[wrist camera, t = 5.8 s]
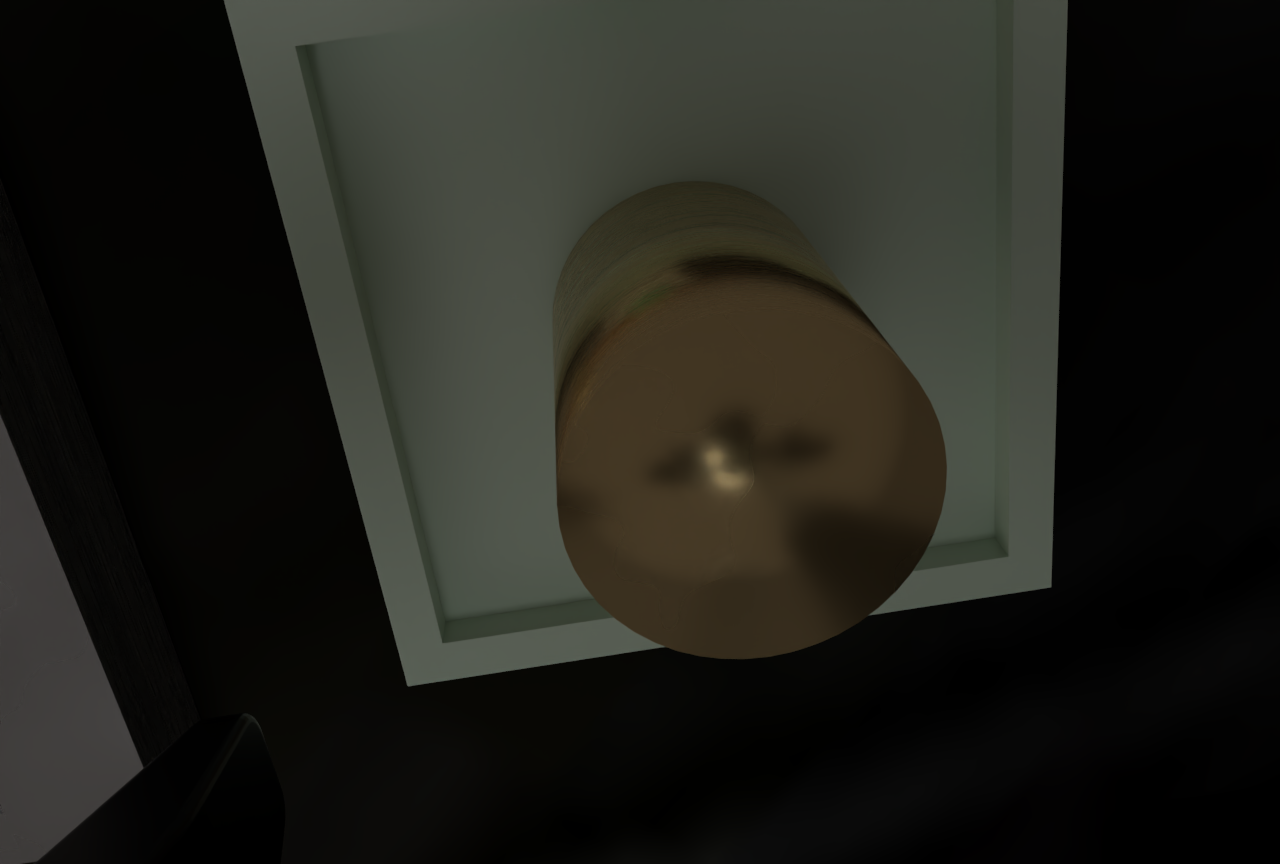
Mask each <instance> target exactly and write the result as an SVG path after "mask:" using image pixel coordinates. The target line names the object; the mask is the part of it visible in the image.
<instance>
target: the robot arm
mask: <svg viewBox="0 0 1280 864" xmlns="http://www.w3.org/2000/svg"><path fill="white" fill-rule="evenodd" d="M284 827H285V804H284V797H283V793H282V789H281V786H280V783H279V780H278V777H277V774H276V771H275V768H274V766H273V763H272V760H271V757H270V754H269V751H268V748H267V745H266V742H265V739H264V736H263V733H262V730H261V728H260V726H259V724H258V722H257V721H256V720H255V718H254V717H253V716H251V715H249V714H247V713H241V714H234V715H227V716H221V717H214V718H208V719H203V720H200V721H198V722H196V723H195V724H194V725H192V726H191V727H190V728H189V729H188V730H187V731H185V732H184V733H183V734H182V735H181V736H180V737H179V738H177V739H176V740H175V741H174V742H173V743H172V744H171V745H169V746H168V747H167V748H166V749H165V750H164V751H163V752H161V753H160V754H159V755H158V756H157V757H156V758H155V759H153V760H152V761H151V762H150V763H149V764H148V765H147V766H145V767H144V768H143V769H142V770H141V771H140V772H139V773H137V774H136V775H135V776H134V777H133V778H132V779H131V780H129V781H128V782H127V783H126V784H125V785H124V786H123V787H121V788H120V789H119V790H118V791H117V792H116V793H115V794H113V795H112V796H111V797H110V798H109V799H108V800H107V801H105V802H104V803H103V804H102V805H101V806H100V807H99V808H97V809H96V810H95V811H94V812H93V813H92V814H91V815H89V816H88V817H87V818H86V819H85V820H84V821H82V822H81V823H80V824H79V825H78V826H77V827H76V828H74V829H73V830H72V831H71V832H70V833H69V834H68V835H66V836H65V837H64V838H63V839H62V840H61V841H60V842H58V843H57V844H56V845H55V846H54V847H53V848H52V849H50V850H49V851H48V852H47V853H46V854H45V855H44V856H42V857H41V858H40V859H39V860H38V861H37V862H36V863H34V864H280V863H281V854H282V845H283V836H284ZM1138 842H1139V843H1138ZM1135 843H1137V844H1135ZM1105 864H1280V793H1275V794H1268V795H1262V796H1256V797H1249V798H1243V799H1237V800H1230V801H1224V802H1218V803H1211V804H1205V805H1198V806H1192V807H1186V808H1179V809H1173V810H1167V811H1160V812H1154V813H1148V814H1141V815H1135V816H1131V817H1127V818H1124V819H1122V820H1121V821H1119V822H1117V823H1116V824H1114V826H1113V827H1112V828H1111V829H1110V830H1109V832H1108V835H1107V838H1106V849H1105Z"/></svg>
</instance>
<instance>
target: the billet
mask: <svg viewBox="0 0 1280 864" xmlns="http://www.w3.org/2000/svg"><path fill="white" fill-rule="evenodd" d="M552 324H553V365H554V406H555V447H556V489H557V510H558V519H559V527H560V531H561V535H562V539H563V543H564V546H565V549H566V552H567V554H568V556H569V559H570V561H571V563H572V566H573V568H574V570H575V572H576V573H577V575H578V576H579V578H580V580H581V581H582V583H583V585H584V586H585V588H586V589H587V590H588V591H589V592H590V594H591V595H592V596H593V597H594V598H595V600H596V601H597V602H598V603H599V604H600V605H601V606H602V607H603V608H604V609H605V610H606V611H607V612H608V613H609V614H611V615H612V616H613V617H614V618H615V619H616V620H617V621H619V622H620V623H622V624H623V625H625V626H626V627H628V628H629V629H631V630H632V631H633V632H635V633H637V634H639V635H641V636H643V637H645V638H647V639H649V640H651V641H653V642H654V643H657V644H660V645H662V646H665V647H668V648H671V649H673V650H676V651H680V652H684V653H689V654H693V655H697V656H703V657H712V658H720V659H751V658H761V657H770V656H775V655H780V654H785V653H789V652H794V651H797V650H800V649H803V648H806V647H809V646H812V645H815V644H818V643H820V642H822V641H825V640H827V639H829V638H831V637H834V636H836V635H838V634H840V633H841V632H843V631H845V630H847V629H848V628H850V627H852V626H853V625H855V624H857V623H859V622H860V621H861V620H863V619H864V618H865V617H867V616H868V615H870V614H871V613H872V612H874V611H875V610H876V609H878V608H879V607H880V606H881V605H882V604H883V603H884V602H885V601H886V600H887V599H888V598H890V597H891V596H892V595H893V594H894V593H895V592H896V591H897V590H898V588H899V587H900V586H901V585H902V584H903V583H904V581H905V580H906V579H907V578H908V577H909V576H910V574H911V573H912V572H913V570H914V569H915V567H916V566H917V564H918V563H919V561H920V560H921V558H922V557H923V555H924V553H925V551H926V549H927V547H928V545H929V543H930V541H931V539H932V537H933V535H934V533H935V530H936V527H937V524H938V521H939V518H940V515H941V512H942V507H943V502H944V497H945V492H946V479H947V461H946V450H945V443H944V439H943V435H942V431H941V427H940V423H939V420H938V418H937V416H936V413H935V411H934V408H933V406H932V403H931V401H930V400H929V398H928V396H927V395H926V393H925V391H924V390H923V388H922V387H921V385H920V383H919V382H918V380H917V379H916V378H915V377H914V375H913V374H912V373H911V371H910V370H909V369H908V368H907V366H906V365H905V364H904V362H903V361H902V360H901V359H900V357H899V356H898V355H897V354H896V352H895V351H894V350H893V348H892V347H891V346H890V345H889V343H888V342H887V341H886V339H885V338H884V337H883V336H882V334H881V333H880V332H879V330H878V329H877V328H876V327H875V325H874V324H873V323H872V321H871V320H870V319H869V318H868V316H867V315H866V314H865V312H864V311H863V310H862V309H861V307H860V306H859V305H858V303H857V302H856V301H855V300H854V298H853V297H852V296H851V294H850V293H849V292H848V291H847V289H846V288H845V287H844V286H843V284H842V283H841V282H840V280H839V279H838V278H837V277H836V275H835V274H834V273H833V271H832V270H831V269H830V268H829V266H828V265H827V264H826V262H825V261H824V260H823V259H822V257H821V256H820V255H819V253H818V252H817V251H816V250H815V248H814V247H813V246H812V244H811V243H810V242H809V241H808V239H807V238H806V237H805V235H804V234H803V233H802V232H801V231H800V229H799V228H798V227H797V226H796V225H795V223H794V222H793V221H792V220H791V219H790V218H789V217H787V216H786V215H785V214H784V213H783V212H782V211H781V210H780V209H778V208H777V207H775V206H774V205H772V204H771V203H769V202H768V201H766V200H765V199H763V198H761V197H759V196H757V195H755V194H753V193H751V192H749V191H746V190H743V189H740V188H737V187H734V186H731V185H726V184H721V183H715V182H703V181H688V182H676V183H670V184H666V185H661V186H656V187H653V188H651V189H648V190H645V191H642V192H639V193H637V194H635V195H633V196H631V197H629V198H627V199H625V200H623V201H621V202H620V203H618V204H617V205H615V206H614V207H613V208H611V209H610V210H608V211H607V212H605V213H604V214H603V215H602V216H601V217H600V218H599V219H597V220H596V221H595V222H594V223H593V224H592V225H591V226H590V227H589V228H588V229H587V231H586V232H585V233H584V234H583V235H582V236H581V238H580V239H579V240H578V242H577V243H576V245H575V246H574V248H573V249H572V251H571V253H570V254H569V256H568V258H567V260H566V262H565V264H564V267H563V269H562V271H561V274H560V277H559V280H558V283H557V286H556V291H555V297H554V303H553V321H552Z"/></svg>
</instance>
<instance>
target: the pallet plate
mask: <svg viewBox="0 0 1280 864" xmlns="http://www.w3.org/2000/svg"><path fill="white" fill-rule="evenodd" d="M200 720H201V719H200V716H199V713H198V711H197V708H196V705H195V703H194V700H193V697H192V694H191V692H190V689H189V686H188V684H187V681H186V678H185V676H184V673H183V670H182V667H181V665H180V662H179V659H178V657H177V654H176V651H175V648H174V646H173V643H172V640H171V638H170V635H169V632H168V630H167V627H166V624H165V621H164V619H163V616H162V613H161V611H160V608H159V605H158V602H157V600H156V597H155V594H154V592H153V589H152V586H151V584H150V581H149V578H148V575H147V573H146V570H145V567H144V565H143V562H142V559H141V556H140V554H139V551H138V548H137V546H136V543H135V540H134V538H133V535H132V532H131V529H130V527H129V524H128V521H127V519H126V516H125V513H124V510H123V508H122V505H121V502H120V500H119V497H118V494H117V492H116V489H115V486H114V483H113V481H112V478H111V475H110V473H109V470H108V467H107V464H106V462H105V459H104V456H103V454H102V451H101V448H100V446H99V443H98V440H97V437H96V435H95V432H94V429H93V427H92V424H91V421H90V419H89V416H88V413H87V410H86V408H85V405H84V402H83V400H82V397H81V394H80V391H79V389H78V386H77V383H76V381H75V378H74V375H73V373H72V370H71V367H70V364H69V362H68V359H67V356H66V354H65V351H64V348H63V345H62V343H61V340H60V337H59V335H58V332H57V329H56V327H55V324H54V321H53V318H52V316H51V313H50V310H49V308H48V305H47V302H46V299H45V297H44V294H43V291H42V289H41V286H40V283H39V281H38V278H37V275H36V272H35V270H34V267H33V264H32V262H31V259H30V256H29V253H28V251H27V248H26V245H25V243H24V240H23V237H22V235H21V232H20V229H19V226H18V224H17V221H16V218H15V216H14V213H13V210H12V207H11V205H10V202H9V199H8V197H7V194H6V191H5V189H4V186H3V183H2V180H1V178H0V864H22V863H28V862H35V861H38V860H39V859H40V858H41V857H42V856H44V855H45V854H46V853H47V852H48V851H49V850H50V849H52V848H53V847H54V846H55V845H56V844H57V843H58V842H60V841H61V840H62V839H63V838H64V837H65V836H66V835H68V834H69V833H70V832H71V831H72V830H73V829H74V828H76V827H77V826H78V825H79V824H80V823H81V822H82V821H84V820H85V819H86V818H87V817H88V816H89V815H91V814H92V813H93V812H94V811H95V810H96V809H97V808H99V807H100V806H101V805H102V804H103V803H104V802H105V801H107V800H108V799H109V798H110V797H111V796H112V795H113V794H115V793H116V792H117V791H118V790H119V789H120V788H121V787H123V786H124V785H125V784H126V783H127V782H128V781H129V780H131V779H132V778H133V777H134V776H135V775H136V774H137V773H139V772H140V771H141V770H142V769H143V768H144V767H145V766H147V765H148V764H149V763H150V762H151V761H152V760H153V759H155V758H156V757H157V756H158V755H159V754H160V753H161V752H163V751H164V750H165V749H166V748H167V747H168V746H169V745H171V744H172V743H173V742H174V741H175V740H176V739H177V738H179V737H180V736H181V735H182V734H183V733H184V732H185V731H187V730H188V729H189V728H190V727H191V726H192V725H194V724H195V723H196V722H198V721H200Z"/></svg>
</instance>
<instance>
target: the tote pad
mask: <svg viewBox="0 0 1280 864" xmlns="http://www.w3.org/2000/svg"><path fill="white" fill-rule="evenodd" d="M224 3H225V6H226V10H227V14H228V17H229V21H230V25H231V29H232V32H233V36H234V40H235V44H236V47H237V51H238V55H239V59H240V62H241V66H242V70H243V73H244V77H245V81H246V85H247V88H248V92H249V96H250V100H251V103H252V107H253V111H254V114H255V118H256V122H257V126H258V129H259V133H260V137H261V141H262V144H263V148H264V152H265V155H266V159H267V163H268V167H269V170H270V174H271V178H272V182H273V185H274V189H275V193H276V197H277V200H278V204H279V208H280V211H281V215H282V219H283V223H284V226H285V230H286V234H287V238H288V241H289V245H290V249H291V252H292V256H293V260H294V264H295V267H296V271H297V275H298V279H299V282H300V286H301V290H302V293H303V297H304V301H305V305H306V308H307V312H308V316H309V320H310V323H311V327H312V331H313V334H314V338H315V342H316V346H317V349H318V353H319V357H320V361H321V364H322V368H323V372H324V376H325V379H326V383H327V387H328V390H329V394H330V398H331V402H332V405H333V409H334V413H335V417H336V420H337V424H338V428H339V431H340V435H341V439H342V443H343V446H344V450H345V454H346V458H347V461H348V465H349V469H350V472H351V476H352V480H353V484H354V487H355V491H356V495H357V499H358V502H359V506H360V510H361V513H362V517H363V521H364V525H365V528H366V532H367V536H368V540H369V543H370V547H371V551H372V555H373V558H374V562H375V566H376V569H377V573H378V577H379V581H380V584H381V588H382V592H383V596H384V599H385V603H386V607H387V610H388V614H389V618H390V622H391V625H392V629H393V633H394V637H395V640H396V644H397V648H398V651H399V655H400V659H401V663H402V666H403V670H404V674H405V678H406V681H407V685H408V686H413V685H419V684H426V683H432V682H439V681H445V680H452V679H458V678H465V677H471V676H478V675H484V674H491V673H497V672H504V671H510V670H517V669H523V668H530V667H536V666H543V665H549V664H556V663H562V662H569V661H575V660H582V659H588V658H595V657H601V656H608V655H614V654H621V653H627V652H634V651H640V650H647V649H653V648H660V647H665V646H662V645H660V644H657V643H654V642H653V641H651V640H649V639H647V638H645V637H643V636H641V635H639V634H637V633H635V632H633V631H632V630H631V629H629V628H628V627H626V626H625V625H623V624H622V623H620V622H619V621H617V620H616V619H615V618H614V617H613V616H612V615H611V614H609V613H608V612H607V611H606V610H605V609H604V608H603V607H602V606H601V605H600V604H599V603H598V602H597V601H596V600H595V598H594V597H593V596H592V595H591V594H590V592H589V591H588V590H587V589H586V588H585V586H584V585H583V583H582V581H581V580H580V578H579V576H578V575H577V573H576V572H575V570H574V568H573V566H572V563H571V561H570V559H569V556H568V554H567V552H566V549H565V546H564V543H563V539H562V535H561V531H560V527H559V519H558V510H557V489H556V447H555V406H554V365H553V324H552V321H553V303H554V297H555V291H556V286H557V283H558V280H559V277H560V274H561V271H562V269H563V267H564V264H565V262H566V260H567V258H568V256H569V254H570V253H571V251H572V249H573V248H574V246H575V245H576V243H577V242H578V240H579V239H580V238H581V236H582V235H583V234H584V233H585V232H586V231H587V229H588V228H589V227H590V226H591V225H592V224H593V223H594V222H595V221H596V220H597V219H599V218H600V217H601V216H602V215H603V214H604V213H605V212H607V211H608V210H610V209H611V208H613V207H614V206H615V205H617V204H618V203H620V202H621V201H623V200H625V199H627V198H629V197H631V196H633V195H635V194H637V193H639V192H642V191H645V190H648V189H651V188H653V187H656V186H661V185H666V184H670V183H676V182H688V181H703V182H715V183H721V184H726V185H731V186H734V187H737V188H740V189H743V190H746V191H749V192H751V193H753V194H755V195H757V196H759V197H761V198H763V199H765V200H766V201H768V202H769V203H771V204H772V205H774V206H775V207H777V208H778V209H780V210H781V211H782V212H783V213H784V214H785V215H786V216H787V217H789V218H790V219H791V220H792V221H793V222H794V223H795V225H796V226H797V227H798V228H799V229H800V231H801V232H802V233H803V234H804V235H805V237H806V238H807V239H808V241H809V242H810V243H811V244H812V246H813V247H814V248H815V250H816V251H817V252H818V253H819V255H820V256H821V257H822V259H823V260H824V261H825V262H826V264H827V265H828V266H829V268H830V269H831V270H832V271H833V273H834V274H835V275H836V277H837V278H838V279H839V280H840V282H841V283H842V284H843V286H844V287H845V288H846V289H847V291H848V292H849V293H850V294H851V296H852V297H853V298H854V300H855V301H856V302H857V303H858V305H859V306H860V307H861V309H862V310H863V311H864V312H865V314H866V315H867V316H868V318H869V319H870V320H871V321H872V323H873V324H874V325H875V327H876V328H877V329H878V330H879V332H880V333H881V334H882V336H883V337H884V338H885V339H886V341H887V342H888V343H889V345H890V346H891V347H892V348H893V350H894V351H895V352H896V354H897V355H898V356H899V357H900V359H901V360H902V361H903V362H904V364H905V365H906V366H907V368H908V369H909V370H910V371H911V373H912V374H913V375H914V377H915V378H916V379H917V380H918V382H919V383H920V385H921V387H922V388H923V390H924V391H925V393H926V395H927V396H928V398H929V400H930V401H931V403H932V406H933V408H934V411H935V413H936V416H937V418H938V420H939V423H940V427H941V431H942V435H943V439H944V443H945V450H946V461H947V479H946V492H945V497H944V502H943V507H942V512H941V515H940V518H939V521H938V524H937V527H936V530H935V533H934V535H933V537H932V539H931V541H930V543H929V545H928V547H927V549H926V551H925V553H924V555H923V557H922V558H921V560H920V561H919V563H918V564H917V566H916V567H915V569H914V570H913V572H912V573H911V574H910V576H909V577H908V578H907V579H906V580H905V581H904V583H903V584H902V585H901V586H900V587H899V588H898V590H897V591H896V592H895V593H894V594H893V595H892V596H891V597H890V598H888V599H887V600H886V601H885V602H884V603H883V604H882V605H881V606H880V607H879V608H878V609H876V610H875V611H874V612H872V613H871V614H870V615H874V614H881V613H887V612H894V611H900V610H907V609H913V608H920V607H926V606H933V605H939V604H946V603H952V602H959V601H965V600H972V599H978V598H985V597H991V596H998V595H1004V594H1011V593H1017V592H1024V591H1030V590H1037V589H1043V588H1050V587H1051V576H1052V541H1053V505H1054V470H1055V434H1056V399H1057V363H1058V328H1059V293H1060V257H1061V222H1062V186H1063V151H1064V116H1065V80H1066V45H1067V9H1068V0H224Z"/></svg>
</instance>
